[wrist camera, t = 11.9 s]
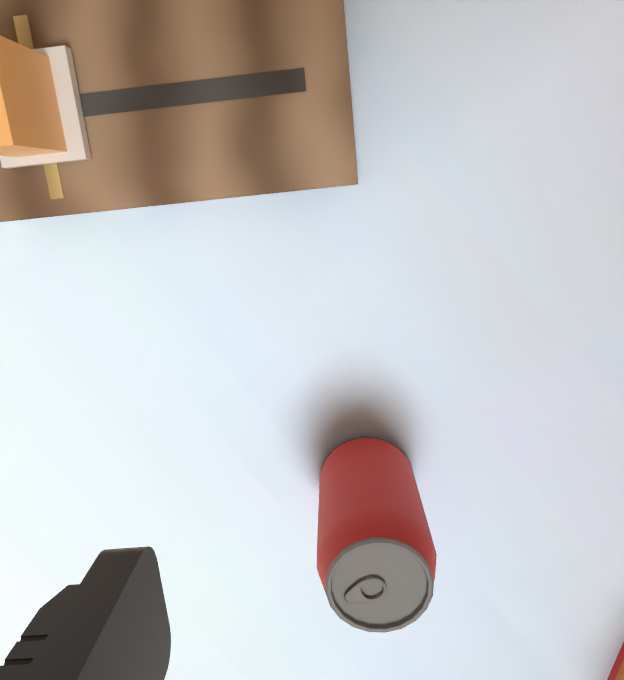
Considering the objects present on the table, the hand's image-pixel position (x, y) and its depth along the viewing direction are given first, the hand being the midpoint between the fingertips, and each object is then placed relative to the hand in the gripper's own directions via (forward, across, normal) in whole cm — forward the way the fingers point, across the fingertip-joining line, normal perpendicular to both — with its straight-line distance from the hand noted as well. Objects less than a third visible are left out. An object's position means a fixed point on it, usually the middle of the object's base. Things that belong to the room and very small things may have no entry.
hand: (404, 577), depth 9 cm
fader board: (+30, +10, -12) cm, 34 cm away
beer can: (+30, 0, +14) cm, 33 cm away
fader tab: (+28, +17, -12) cm, 35 cm away
